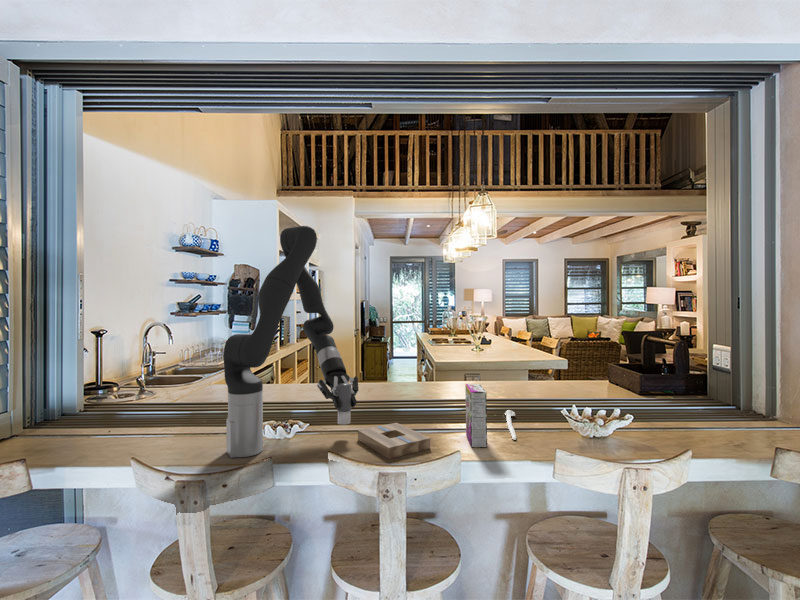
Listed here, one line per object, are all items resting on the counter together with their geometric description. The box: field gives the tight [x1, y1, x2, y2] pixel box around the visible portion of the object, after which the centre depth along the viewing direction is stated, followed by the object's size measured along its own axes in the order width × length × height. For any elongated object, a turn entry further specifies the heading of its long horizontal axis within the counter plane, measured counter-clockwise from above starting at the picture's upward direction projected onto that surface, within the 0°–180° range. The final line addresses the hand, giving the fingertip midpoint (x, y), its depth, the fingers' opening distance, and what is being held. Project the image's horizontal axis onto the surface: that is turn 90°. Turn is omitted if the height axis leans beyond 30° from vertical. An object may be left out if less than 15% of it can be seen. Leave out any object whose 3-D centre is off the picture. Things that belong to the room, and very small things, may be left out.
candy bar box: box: [464, 383, 488, 448], centre depth 124 cm, size 11×5×16 cm, turn 179°
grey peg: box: [336, 382, 352, 426], centre depth 129 cm, size 4×4×12 cm
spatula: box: [504, 409, 517, 441], centre depth 138 cm, size 28×4×3 cm, turn 170°
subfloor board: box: [357, 422, 431, 460], centre depth 122 cm, size 14×18×3 cm
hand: (346, 406), depth 127 cm, fingers closed on grey peg, 4 cm apart
